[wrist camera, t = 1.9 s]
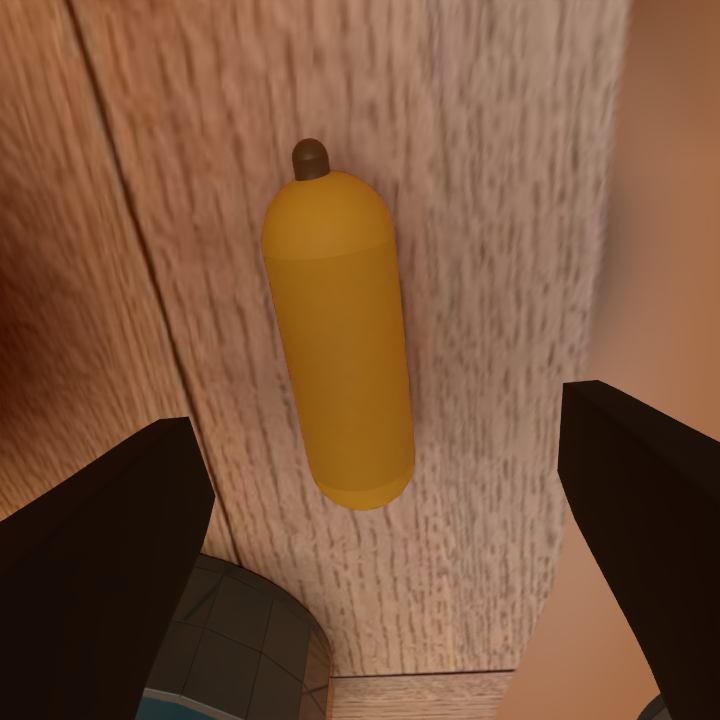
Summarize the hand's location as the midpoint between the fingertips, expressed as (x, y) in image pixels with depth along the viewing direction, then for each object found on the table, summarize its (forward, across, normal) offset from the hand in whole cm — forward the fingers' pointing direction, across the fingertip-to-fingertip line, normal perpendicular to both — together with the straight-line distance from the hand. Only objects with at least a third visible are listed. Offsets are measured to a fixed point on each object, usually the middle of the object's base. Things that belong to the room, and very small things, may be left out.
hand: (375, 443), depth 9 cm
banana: (+5, 0, 0) cm, 5 cm away
